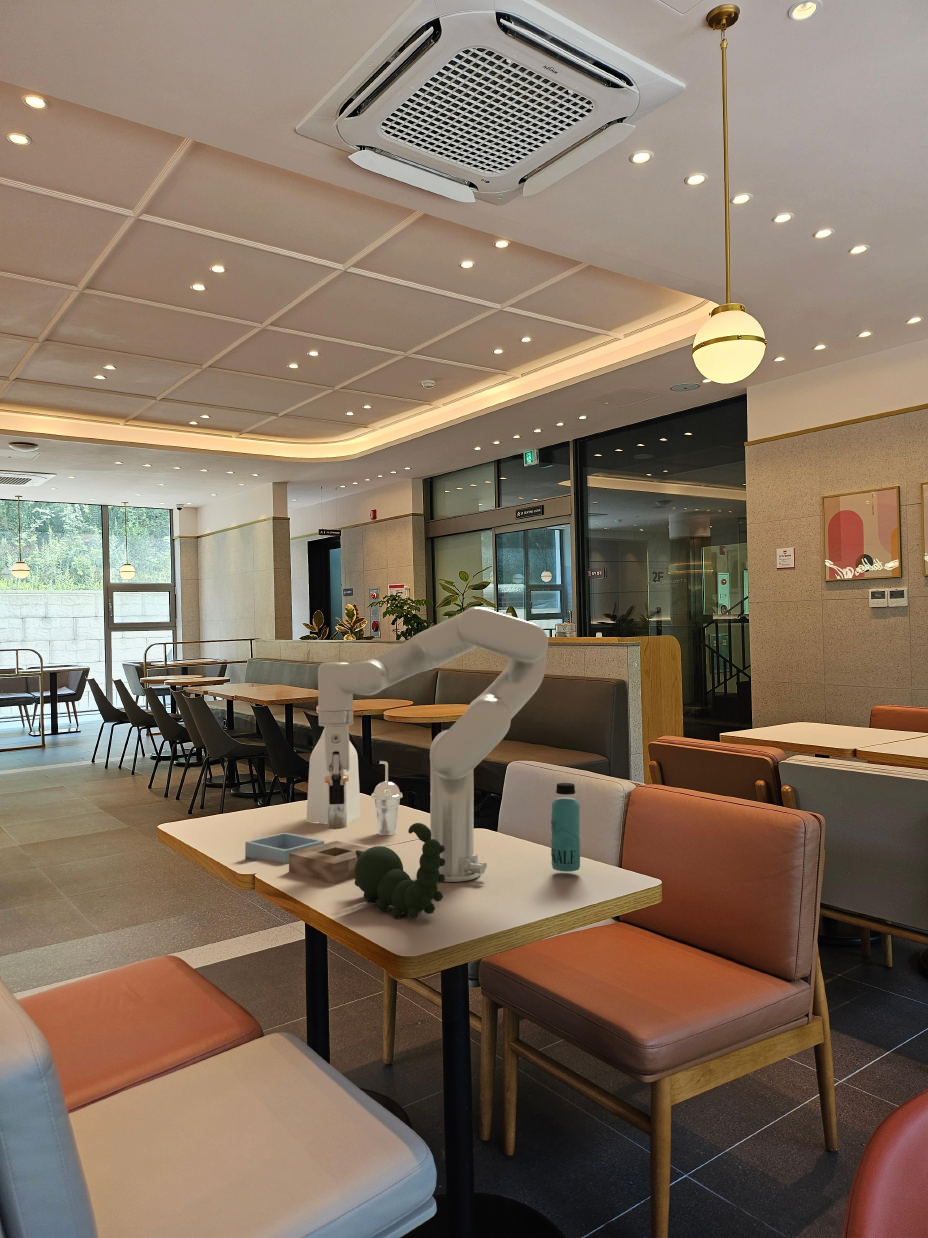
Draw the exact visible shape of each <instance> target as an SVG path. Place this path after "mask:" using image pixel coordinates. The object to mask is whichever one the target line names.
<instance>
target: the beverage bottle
mask: <svg viewBox="0 0 928 1238" xmlns="http://www.w3.org/2000/svg"><path fill="white" fill-rule="evenodd" d="M575 787H576V786H575V784H574V783H571V782H559V783H557V784H556V791H555V793H556V794H558V795H565V797H557V798H555V799H554V800H553V801H552V803H551V814H550V815H551V818H550V819H551V820H550V824H551V825H550V830H551V842H550V845H551V848H550V849H551V851H550V852H551V853H550V854H551V862H550V863H551V867H552V869H553V870H555V871H558V872H566V873H568V872H576V871H579V870H580V867H581V844H580V843H581V839H580V838H581V837H580V835H581V834H580V833H581V831H580V824H581V823H580V822H581V821H580V818H581V817H580V815H581V813H580V812H581V811H580V810H581V809H580V807H581V804H580V802H579V801H578V800H577V799H576V798H573V797H569V796H568V795H575V794H576V789H575ZM566 795H567V797H566Z"/></svg>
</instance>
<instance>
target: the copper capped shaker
mask: <svg viewBox="0 0 928 1238" xmlns="http://www.w3.org/2000/svg"><path fill="white" fill-rule="evenodd" d="M348 781H349V776H348V775H343V785H344V804H332V805H331V804H330V803H329V786H330V775H329V776H325V782H326V783H328V824H327V826H328V829H330V830H340V829H341V830H342V829H345V828H347V827H348V824H347V811H346V782H348Z"/></svg>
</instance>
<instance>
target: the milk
mask: <svg viewBox="0 0 928 1238" xmlns="http://www.w3.org/2000/svg"><path fill="white" fill-rule="evenodd" d="M358 755H359V754H358V753H357V750H356V748H355V747H354V745H353V744H352V742H351V740H349V756H350V768H349V770H348V771H346V769H343V775H348V776H349V781H348V782H346V811H347V823H349V822H350V823H351V821H352V820H354V819H356V818H357V817H359V816H360V815H361V799H360V796H361V795H360V778H359V777H360V776H359V774H360V773H359V759H358ZM329 775H330V772H328V771H327V767H326V758H325V737H324V729H323V730H322V733H321V735H320V737H319V739H318V741H317V743H316V745H315V746H314V748H313V749H312V751H311V754H310V757H309V768H308V784H307V785H308V786H307V787H308V788H307V799H306V800H307V803H306V820H305V823H306V822H319V823H328V783H326V782H325V776H329ZM361 816H362V815H361ZM359 818H360V817H359ZM357 819H358V818H357ZM357 819H356V820H357ZM354 821H355V820H354ZM352 822H353V821H352ZM319 823H318V824H319ZM350 823H349V824H350Z"/></svg>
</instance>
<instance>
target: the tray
mask: <svg viewBox="0 0 928 1238" xmlns="http://www.w3.org/2000/svg"><path fill="white" fill-rule="evenodd" d="M244 843H245V845H244V846H245V847H244V848H245V849H244V850H245V854H244V855H245V856H244V857H245V860H248V861H252V862H258V861H262V860H267V861H273V862H277V863H280V864H284V865H285V864H289V853H292V852H296V851H300V850H303V849H307V848H311V847H315V846H319V845H322V844H325V840H323V839H322V840H321V839H319V838H318V839H317V838H312V837H308V836H304V835H299V834H295V833H289V832H282V833H278V834H274V835H273V834H272V835H270V836H265V837H261V838H257V839H252V840H248V841H245V842H244Z"/></svg>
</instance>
